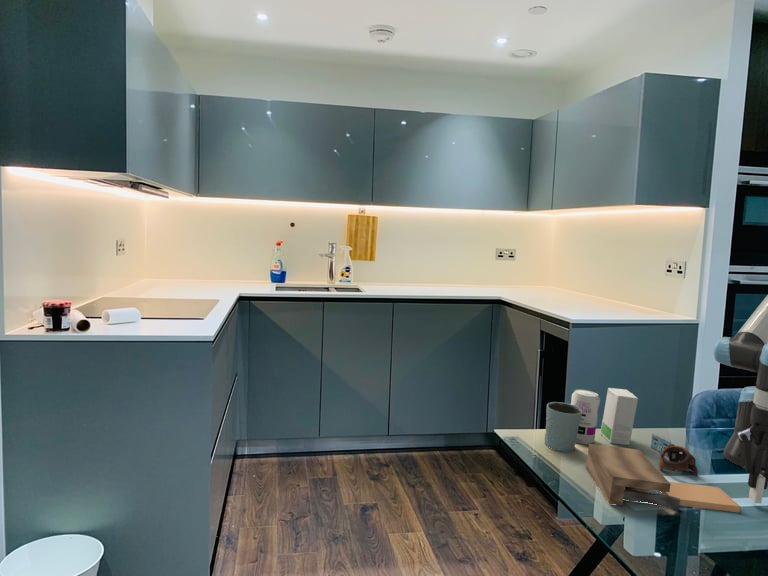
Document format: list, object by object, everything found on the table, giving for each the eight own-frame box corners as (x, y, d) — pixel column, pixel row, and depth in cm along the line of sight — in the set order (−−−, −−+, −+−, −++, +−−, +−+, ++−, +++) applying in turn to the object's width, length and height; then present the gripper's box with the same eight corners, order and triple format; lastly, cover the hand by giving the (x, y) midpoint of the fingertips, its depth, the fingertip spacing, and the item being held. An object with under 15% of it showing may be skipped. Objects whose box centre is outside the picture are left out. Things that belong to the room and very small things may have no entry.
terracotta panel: (717, 494, 140) (718, 487, 140) (739, 514, 130) (740, 506, 130) (653, 487, 141) (654, 479, 141) (670, 506, 132) (671, 498, 131)
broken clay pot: (706, 483, 147) (700, 459, 144) (670, 492, 149) (663, 469, 146) (686, 454, 158) (680, 432, 155) (653, 463, 160) (646, 441, 157)
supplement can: (588, 436, 173) (595, 390, 172) (597, 446, 165) (604, 398, 163) (563, 433, 174) (569, 387, 172) (570, 443, 165) (577, 395, 164)
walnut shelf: (650, 476, 146) (654, 451, 146) (683, 514, 127) (688, 486, 126) (585, 468, 148) (589, 443, 147) (608, 504, 128) (612, 476, 127)
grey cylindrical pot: (567, 440, 168) (572, 402, 167) (583, 454, 158) (589, 414, 157) (536, 439, 166) (541, 401, 165) (551, 453, 156) (556, 412, 155)
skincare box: (599, 433, 176) (606, 387, 175) (620, 435, 176) (627, 389, 175) (610, 444, 168) (617, 395, 166) (631, 445, 168) (638, 397, 166)
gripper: (789, 406, 135) (773, 496, 138) (734, 400, 136) (719, 489, 139) (810, 416, 128) (792, 511, 130) (751, 409, 129) (735, 504, 131)
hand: (754, 500), depth 135 cm, fingers closed
